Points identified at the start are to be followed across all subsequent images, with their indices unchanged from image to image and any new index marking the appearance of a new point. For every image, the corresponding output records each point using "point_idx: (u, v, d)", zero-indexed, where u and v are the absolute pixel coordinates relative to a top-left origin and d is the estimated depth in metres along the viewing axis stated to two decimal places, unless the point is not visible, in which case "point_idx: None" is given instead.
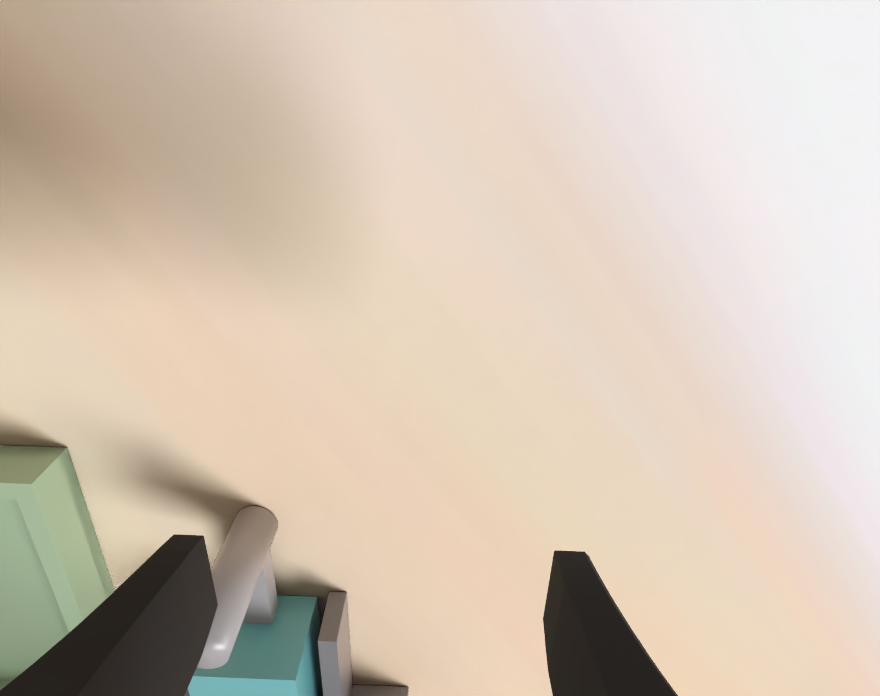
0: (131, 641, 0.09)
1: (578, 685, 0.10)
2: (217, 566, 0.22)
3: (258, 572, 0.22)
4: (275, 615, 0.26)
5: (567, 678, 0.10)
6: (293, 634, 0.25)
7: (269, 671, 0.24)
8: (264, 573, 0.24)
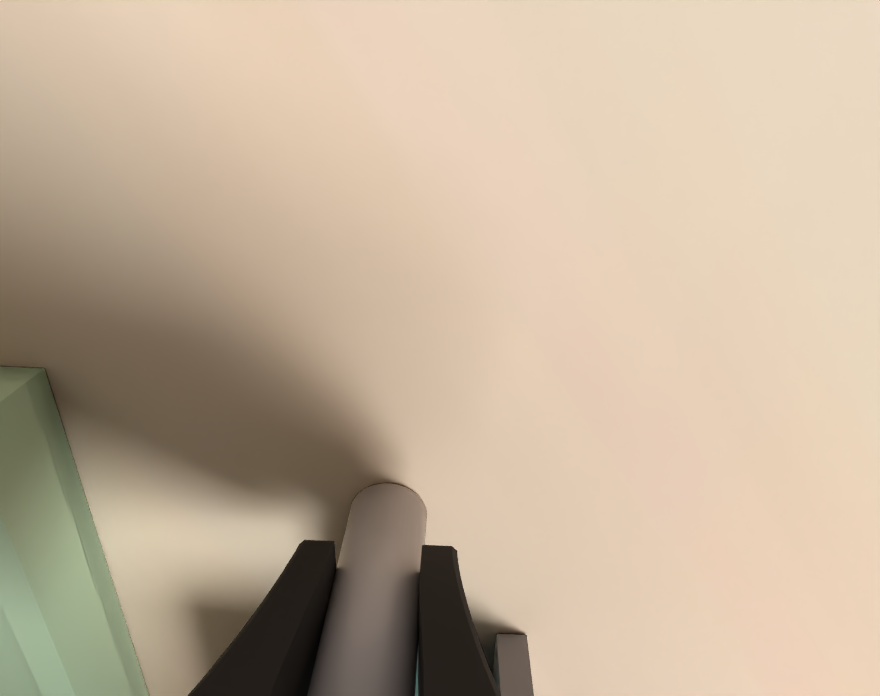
0: (295, 648, 0.09)
1: (421, 678, 0.10)
2: (346, 600, 0.11)
3: None
4: None
5: (419, 672, 0.10)
6: None
7: None
8: None
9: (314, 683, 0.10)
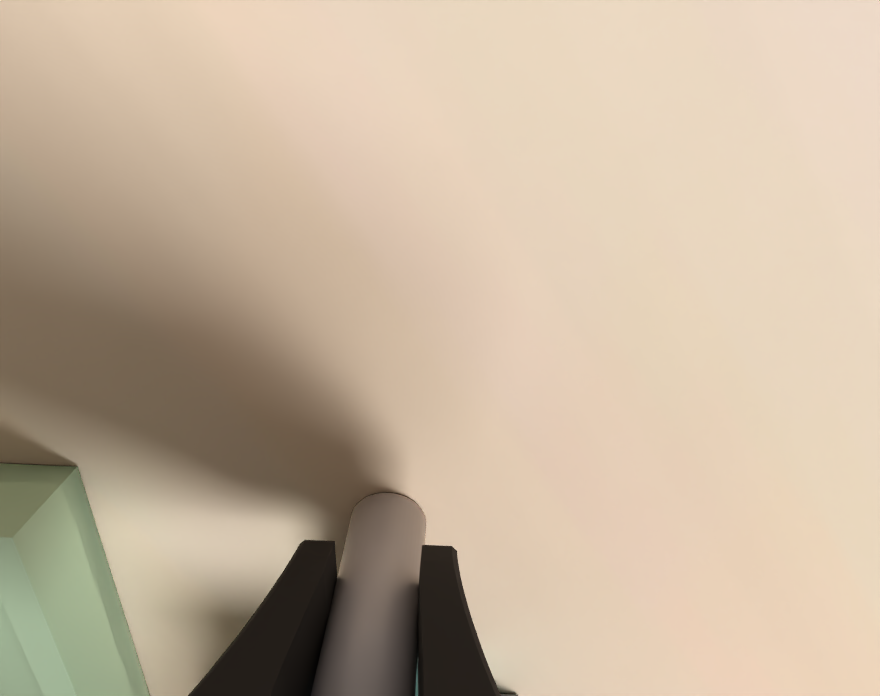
0: (295, 648, 0.09)
1: (421, 678, 0.10)
2: (347, 610, 0.11)
3: None
4: None
5: (419, 672, 0.10)
6: None
7: None
8: None
9: (316, 692, 0.10)
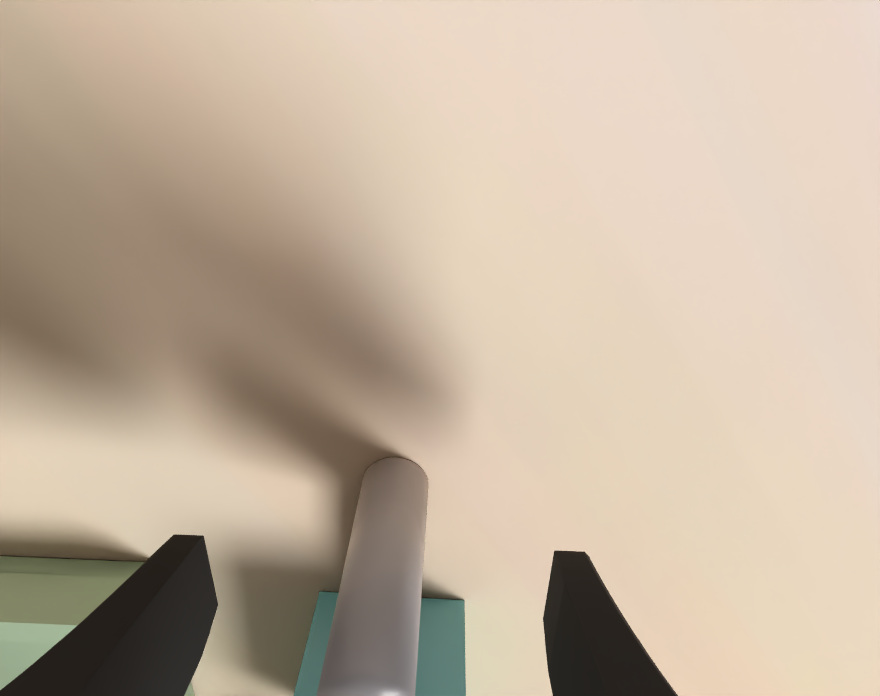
0: (131, 641, 0.09)
1: (578, 685, 0.10)
2: (363, 549, 0.13)
3: (423, 561, 0.14)
4: None
5: (567, 678, 0.10)
6: (444, 658, 0.16)
7: None
8: None
9: (339, 612, 0.12)
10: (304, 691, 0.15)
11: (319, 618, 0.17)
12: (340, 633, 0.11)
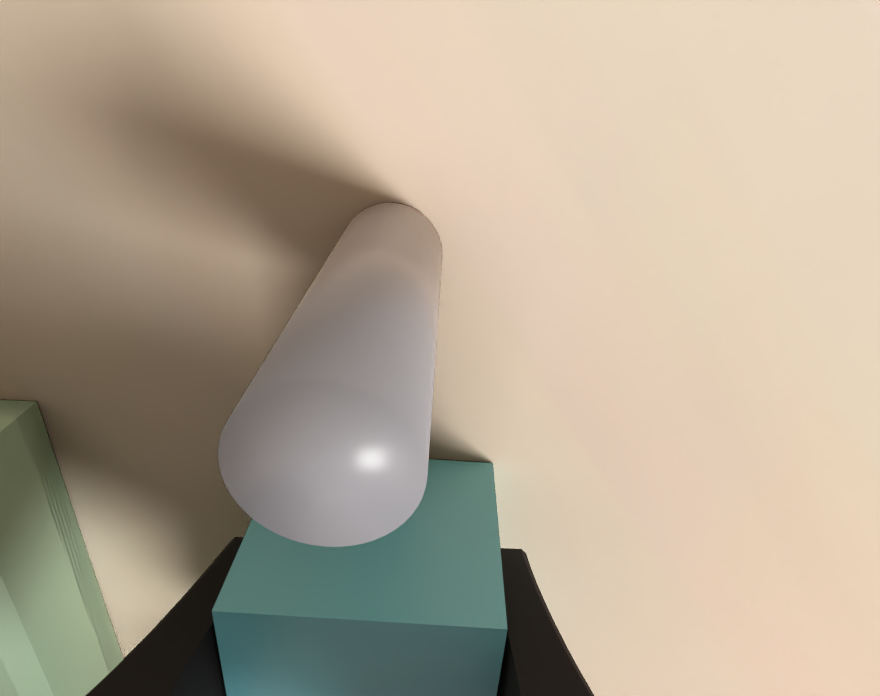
0: (208, 644, 0.09)
1: (503, 682, 0.10)
2: (333, 268, 0.07)
3: None
4: None
5: None
6: (466, 529, 0.11)
7: (433, 605, 0.09)
8: None
9: None
10: (247, 566, 0.10)
11: None
12: (276, 348, 0.06)
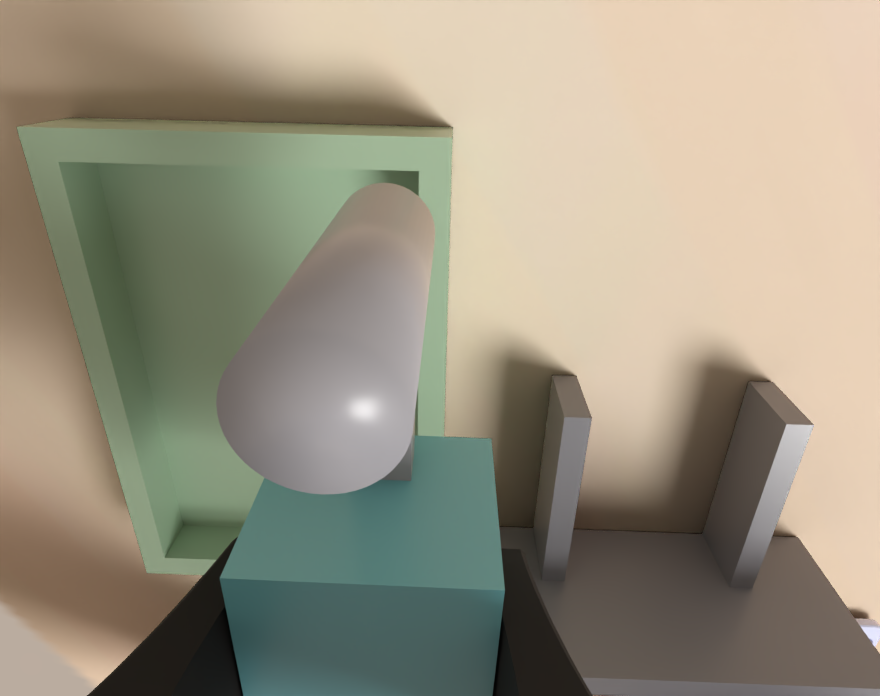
0: (210, 644, 0.09)
1: (502, 682, 0.10)
2: (326, 240, 0.08)
3: (429, 283, 0.08)
4: (414, 467, 0.12)
5: (496, 675, 0.10)
6: (465, 499, 0.11)
7: (433, 570, 0.09)
8: None
9: (274, 300, 0.06)
10: (253, 537, 0.10)
11: None
12: (270, 308, 0.06)
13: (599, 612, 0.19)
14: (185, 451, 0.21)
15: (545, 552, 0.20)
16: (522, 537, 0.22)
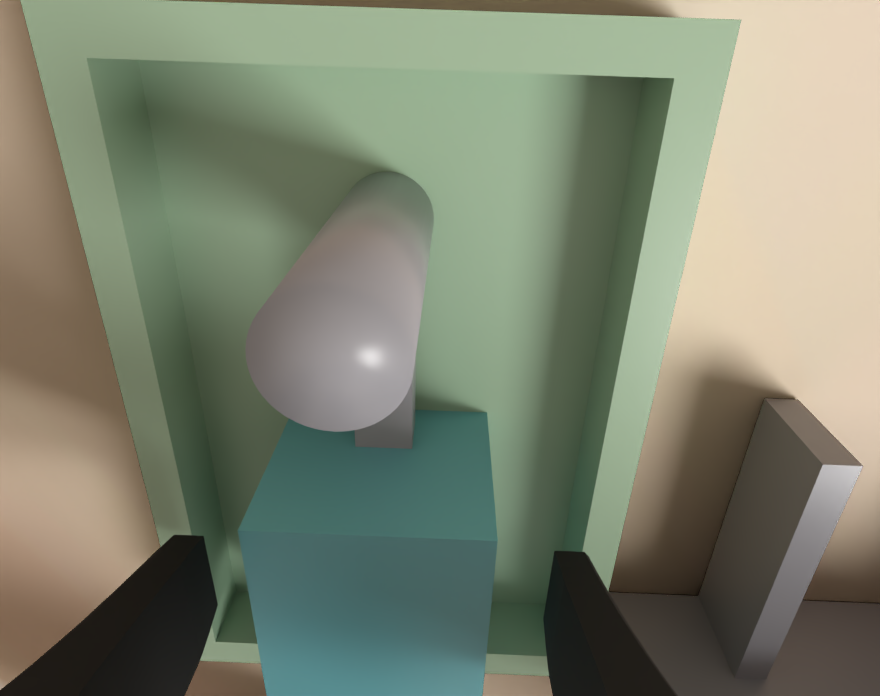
0: (131, 641, 0.09)
1: (578, 685, 0.10)
2: (335, 218, 0.08)
3: (427, 259, 0.09)
4: (415, 437, 0.13)
5: (567, 678, 0.10)
6: (462, 464, 0.12)
7: (432, 524, 0.10)
8: None
9: None
10: (267, 496, 0.11)
11: (293, 428, 0.13)
12: (290, 272, 0.07)
13: None
14: (246, 497, 0.15)
15: (747, 643, 0.14)
16: (688, 610, 0.17)
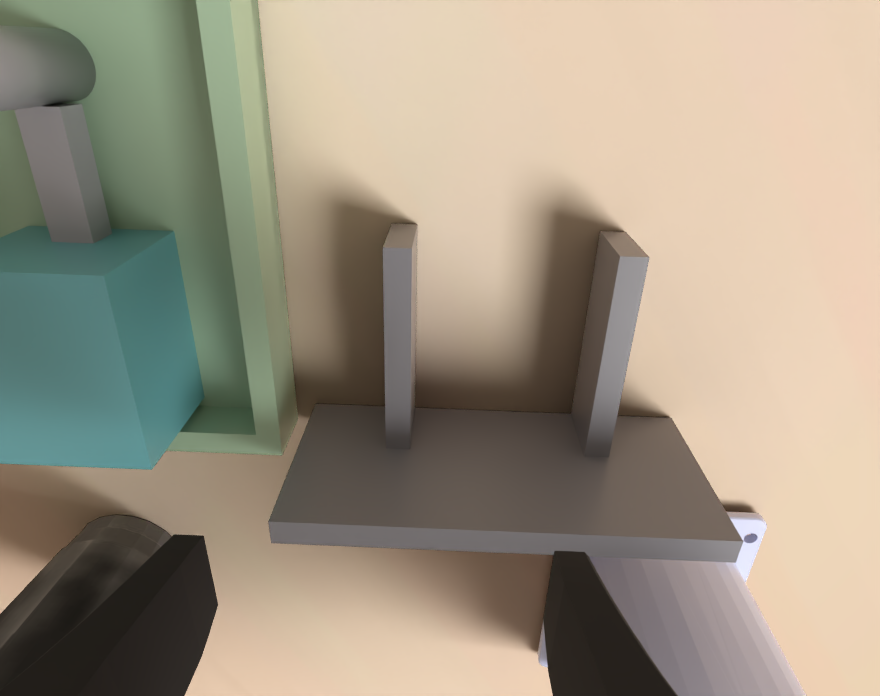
0: (131, 641, 0.09)
1: (578, 685, 0.10)
2: None
3: (29, 65, 0.13)
4: (102, 239, 0.17)
5: (567, 678, 0.10)
6: (122, 249, 0.16)
7: (66, 269, 0.15)
8: (65, 128, 0.15)
9: None
10: None
11: (14, 234, 0.17)
12: None
13: (437, 474, 0.18)
14: None
15: (385, 414, 0.19)
16: (378, 414, 0.21)
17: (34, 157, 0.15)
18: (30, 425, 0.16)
